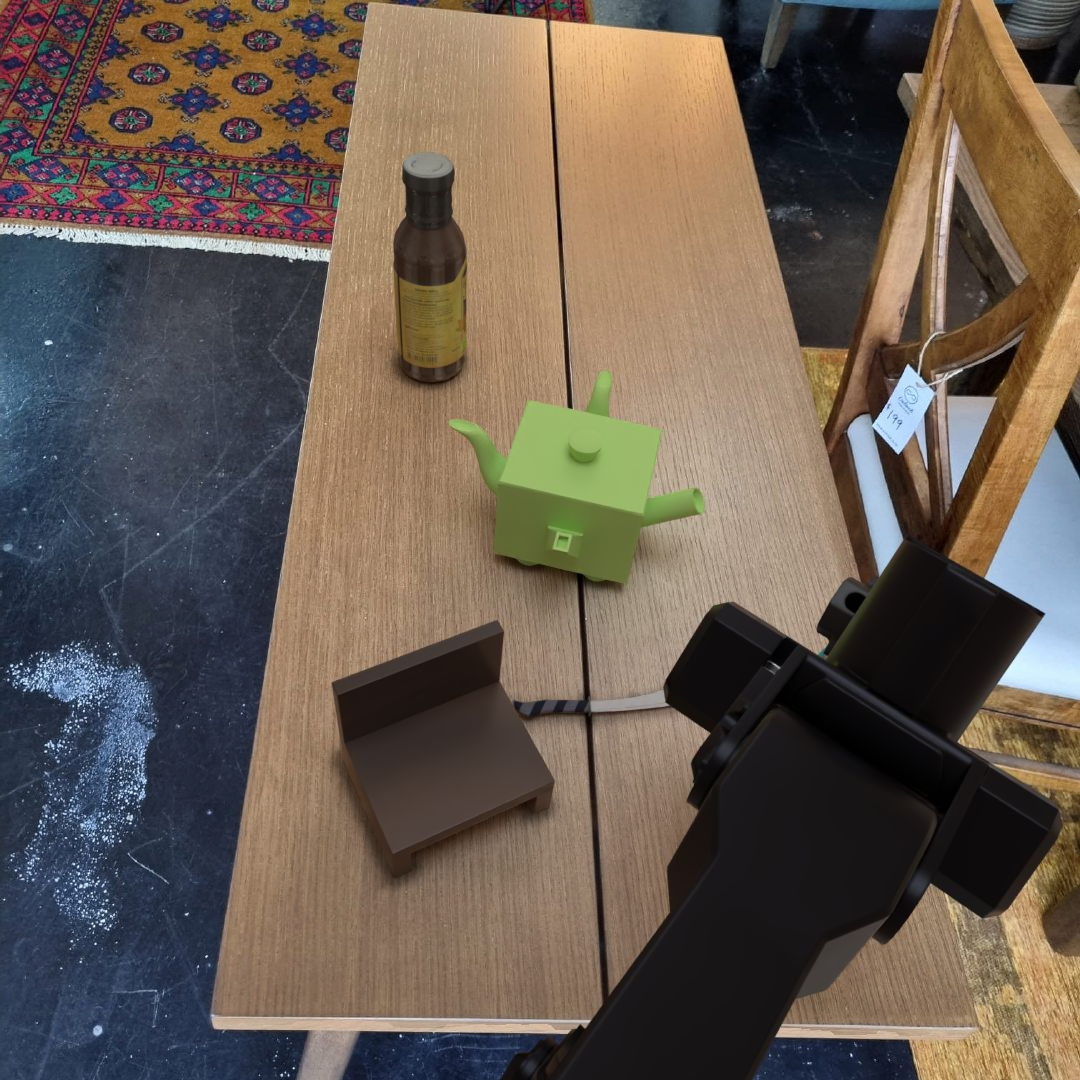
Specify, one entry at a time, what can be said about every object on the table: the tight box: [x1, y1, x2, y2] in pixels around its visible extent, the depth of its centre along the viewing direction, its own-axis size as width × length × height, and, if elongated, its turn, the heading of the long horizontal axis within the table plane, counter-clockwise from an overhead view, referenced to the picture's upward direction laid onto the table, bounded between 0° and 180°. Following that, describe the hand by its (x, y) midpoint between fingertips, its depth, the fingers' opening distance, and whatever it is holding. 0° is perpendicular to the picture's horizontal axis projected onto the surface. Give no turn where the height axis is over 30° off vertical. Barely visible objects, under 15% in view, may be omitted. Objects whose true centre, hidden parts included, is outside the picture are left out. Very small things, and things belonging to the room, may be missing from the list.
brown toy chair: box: [331, 619, 556, 879], centre depth 63 cm, size 9×11×10 cm
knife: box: [511, 688, 671, 719], centre depth 71 cm, size 19×2×1 cm, turn 104°
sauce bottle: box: [392, 151, 468, 383], centre depth 85 cm, size 6×6×20 cm
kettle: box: [448, 369, 706, 585], centre depth 76 cm, size 15×14×11 cm
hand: (860, 727), depth 57 cm, fingers closed on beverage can, 6 cm apart
